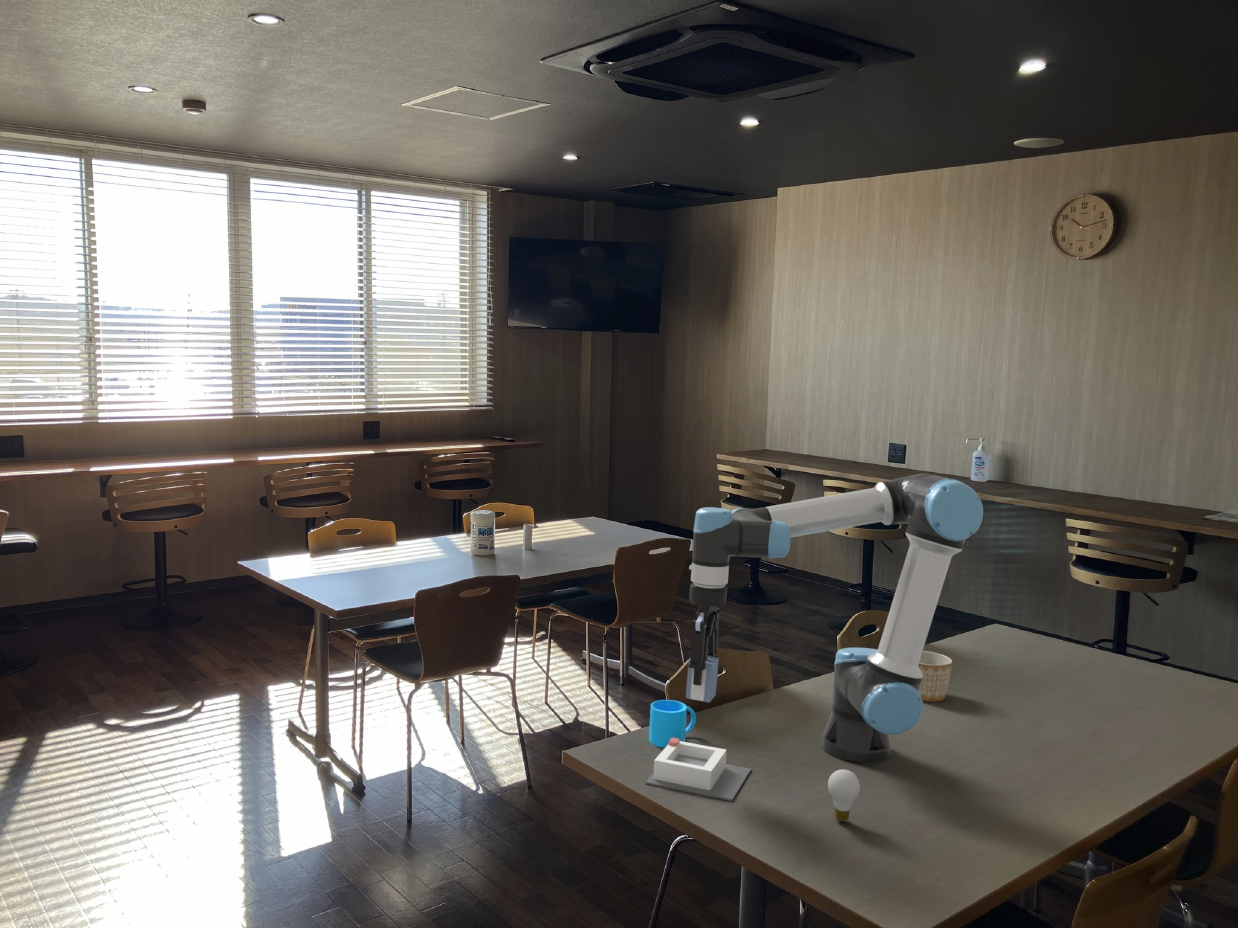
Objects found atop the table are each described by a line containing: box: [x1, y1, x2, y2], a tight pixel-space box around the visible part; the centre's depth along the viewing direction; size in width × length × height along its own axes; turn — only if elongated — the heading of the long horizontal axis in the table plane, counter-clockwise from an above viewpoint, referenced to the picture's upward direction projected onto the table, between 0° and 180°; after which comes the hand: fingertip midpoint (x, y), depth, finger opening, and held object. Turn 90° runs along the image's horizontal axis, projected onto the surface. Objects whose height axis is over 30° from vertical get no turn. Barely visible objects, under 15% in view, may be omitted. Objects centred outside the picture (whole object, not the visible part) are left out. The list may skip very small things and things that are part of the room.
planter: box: [918, 650, 953, 703], centre depth 253 cm, size 13×13×10 cm
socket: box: [644, 738, 752, 802], centre depth 197 cm, size 18×16×5 cm
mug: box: [648, 699, 697, 749], centre depth 217 cm, size 12×8×8 cm
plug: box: [685, 649, 720, 703], centre depth 196 cm, size 5×5×10 cm
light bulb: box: [827, 769, 861, 823], centre depth 180 cm, size 6×6×10 cm
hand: (701, 694), depth 196 cm, fingers closed on plug, 5 cm apart
